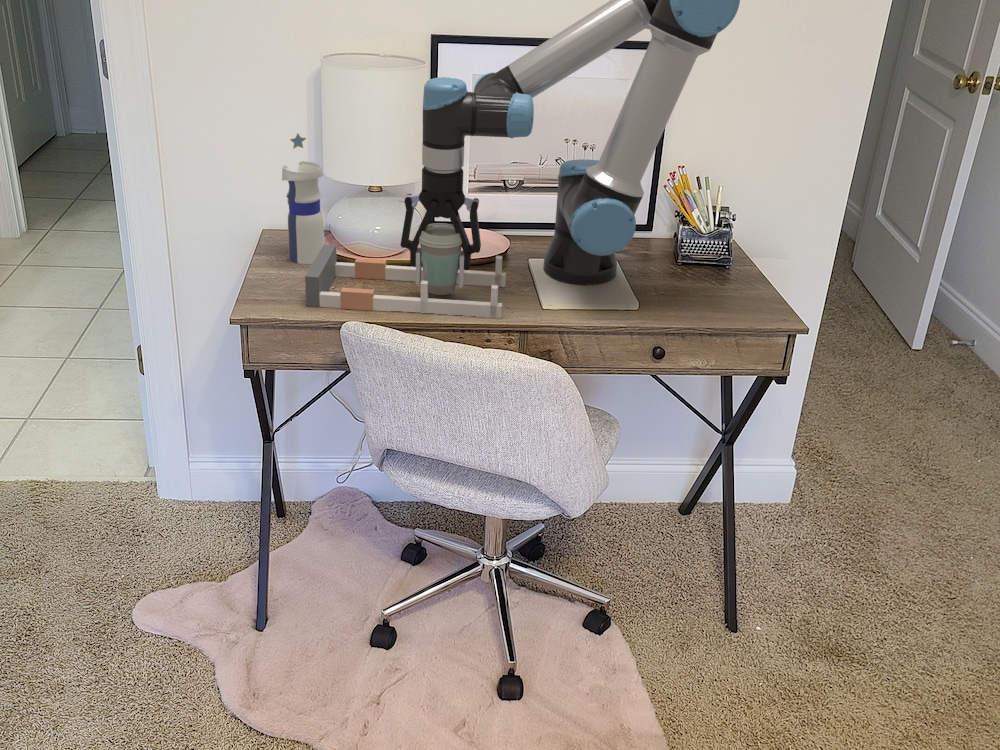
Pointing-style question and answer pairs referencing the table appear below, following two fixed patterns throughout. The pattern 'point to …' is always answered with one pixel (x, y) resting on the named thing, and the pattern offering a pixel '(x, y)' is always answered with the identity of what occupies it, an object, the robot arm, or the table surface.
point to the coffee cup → (440, 257)
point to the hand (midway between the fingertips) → (439, 283)
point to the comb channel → (365, 299)
